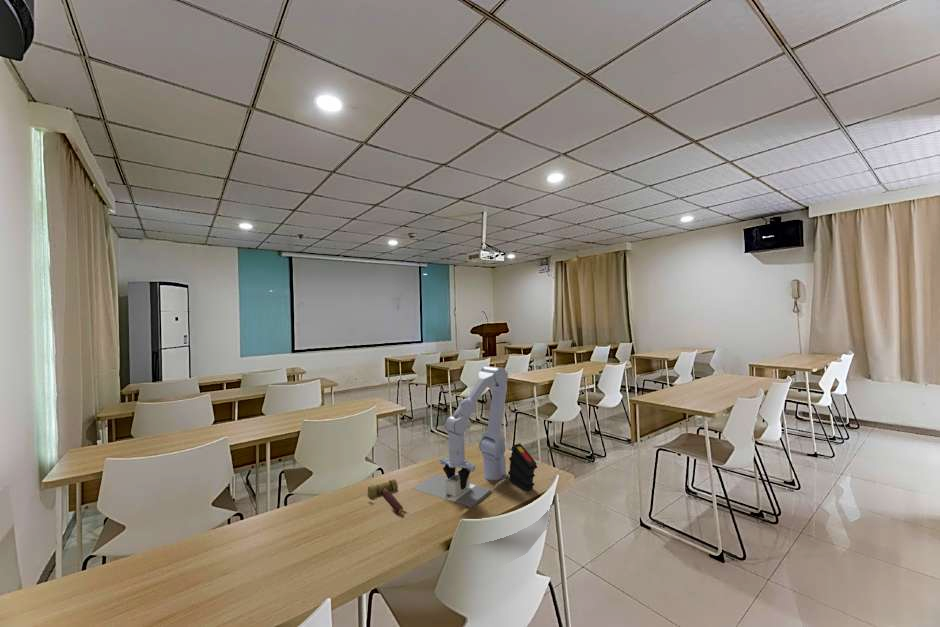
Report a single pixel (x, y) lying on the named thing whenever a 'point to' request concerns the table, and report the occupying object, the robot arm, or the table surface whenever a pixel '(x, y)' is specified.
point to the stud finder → (455, 485)
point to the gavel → (387, 494)
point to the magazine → (522, 468)
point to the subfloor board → (466, 497)
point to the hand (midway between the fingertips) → (457, 486)
